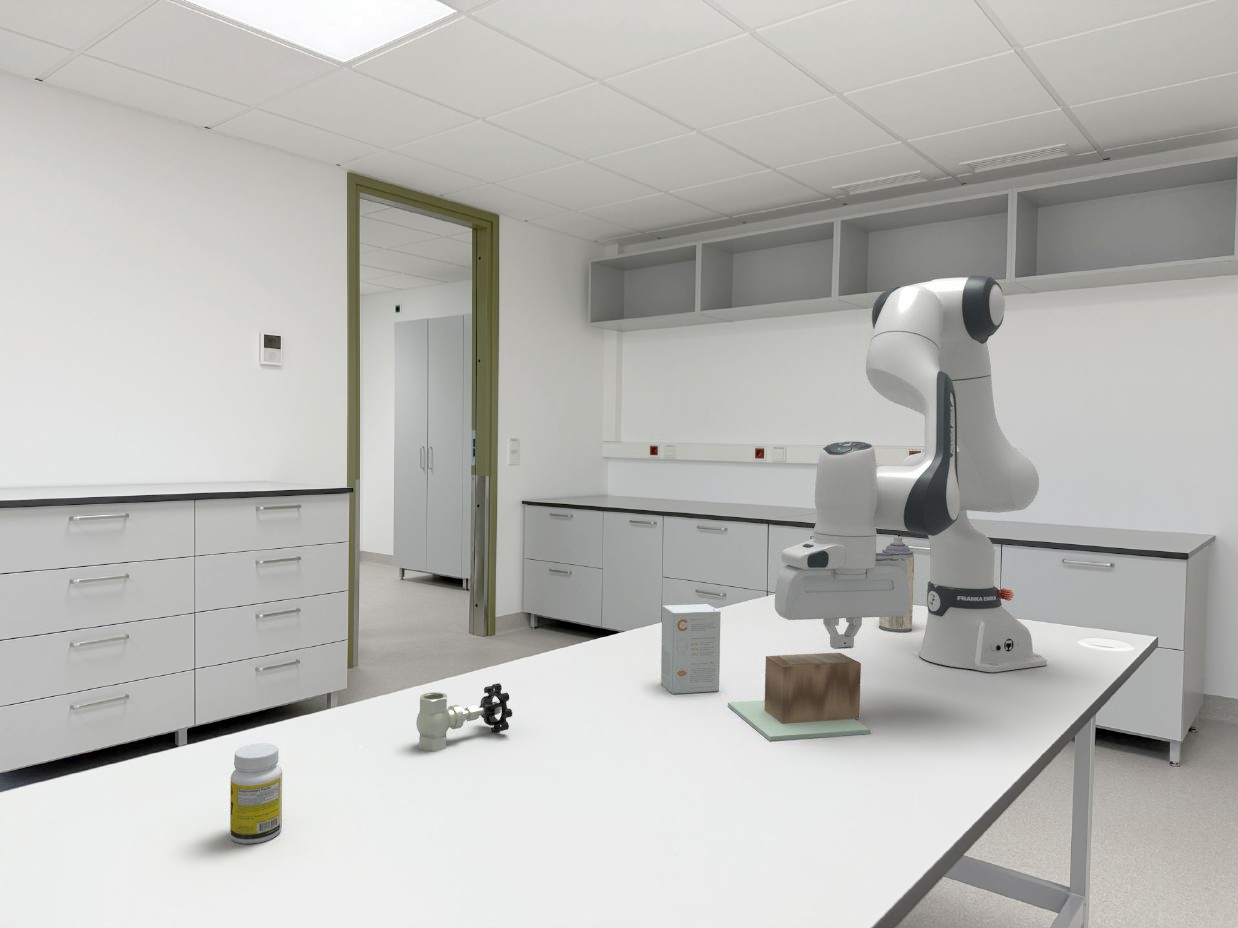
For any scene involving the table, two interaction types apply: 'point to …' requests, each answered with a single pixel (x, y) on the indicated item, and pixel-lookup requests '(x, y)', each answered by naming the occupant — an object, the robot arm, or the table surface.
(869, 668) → the table surface
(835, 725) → the green glass pane
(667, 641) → the small box
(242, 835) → the supplement bottle
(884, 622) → the aerosol can
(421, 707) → the valve
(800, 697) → the walnut block
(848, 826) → the table surface
